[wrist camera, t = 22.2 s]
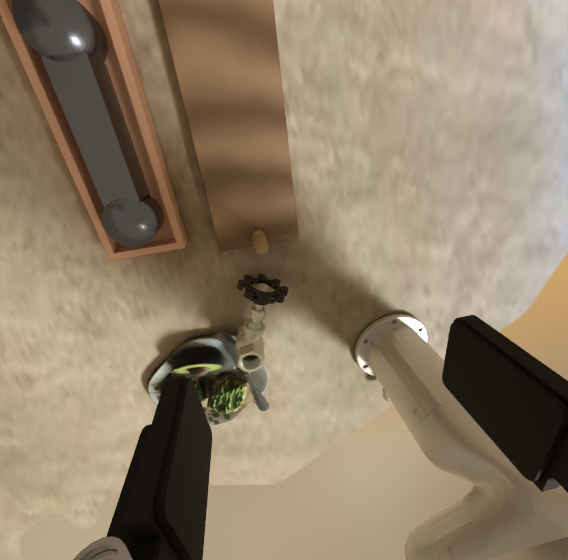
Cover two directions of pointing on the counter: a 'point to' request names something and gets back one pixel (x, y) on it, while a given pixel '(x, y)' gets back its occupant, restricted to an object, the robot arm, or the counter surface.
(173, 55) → the board
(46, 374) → the counter surface
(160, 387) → the salad plate
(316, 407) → the counter surface
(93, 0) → the slot holder
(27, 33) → the grey long knobbed bar
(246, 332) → the valve
